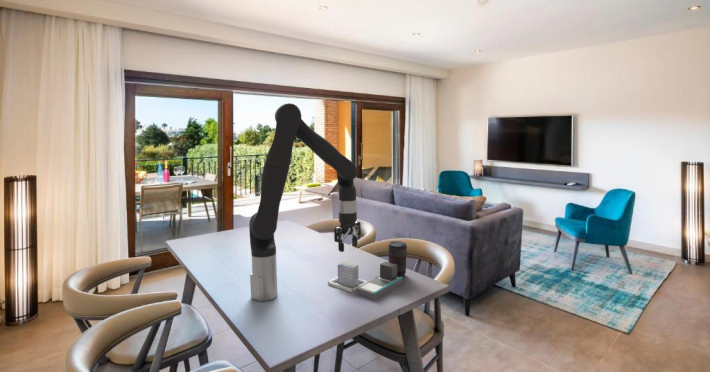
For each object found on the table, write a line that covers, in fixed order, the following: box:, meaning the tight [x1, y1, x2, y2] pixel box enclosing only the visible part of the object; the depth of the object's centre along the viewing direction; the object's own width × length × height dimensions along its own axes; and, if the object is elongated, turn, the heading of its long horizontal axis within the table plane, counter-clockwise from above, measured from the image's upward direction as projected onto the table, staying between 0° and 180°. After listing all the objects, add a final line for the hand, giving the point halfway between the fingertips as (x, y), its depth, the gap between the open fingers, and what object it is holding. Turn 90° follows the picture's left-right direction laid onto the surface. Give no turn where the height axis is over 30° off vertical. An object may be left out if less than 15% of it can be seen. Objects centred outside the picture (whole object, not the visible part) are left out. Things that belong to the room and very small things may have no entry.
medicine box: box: [337, 261, 360, 289], centre depth 154 cm, size 8×4×9 cm, turn 58°
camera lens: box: [387, 240, 408, 278], centre depth 162 cm, size 8×8×15 cm
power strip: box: [356, 261, 404, 301], centre depth 149 cm, size 20×9×9 cm, turn 141°
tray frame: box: [327, 276, 369, 294], centre depth 154 cm, size 11×14×1 cm
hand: (348, 248), depth 152 cm, fingers open, 8 cm apart
